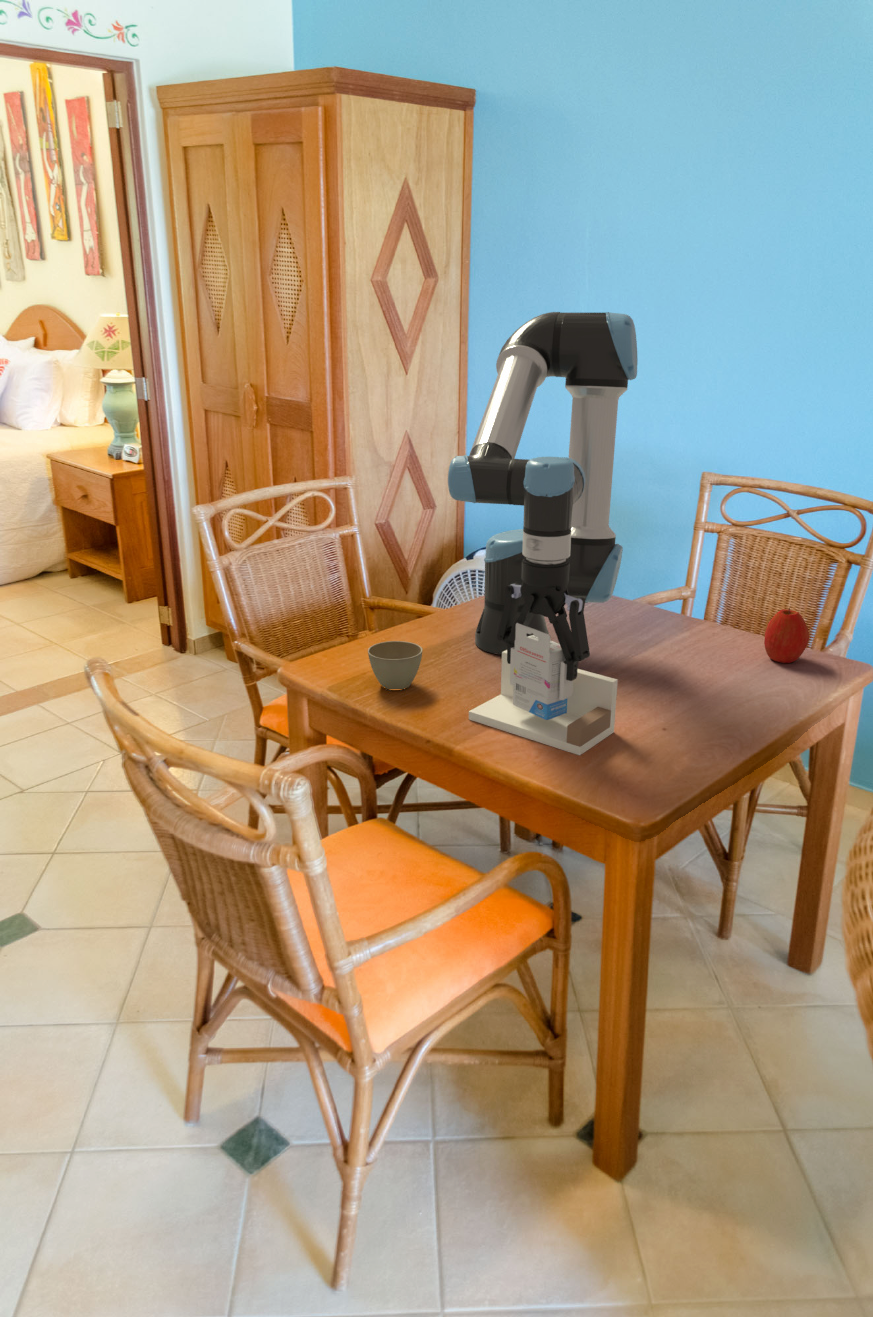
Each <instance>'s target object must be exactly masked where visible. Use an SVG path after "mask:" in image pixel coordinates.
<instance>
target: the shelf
mask: <svg viewBox="0 0 873 1317" xmlns="http://www.w3.org/2000/svg"><path fill="white" fill-rule="evenodd" d="M500 677H501V678H500V679H501V680H500V694H498V695H497V696H495V697H493V698H491V699H489V700H487V701H485V702H484V703H482V704H480V705H478V706H476V707H475V708H471V710H469V711H468V720H470V721H472V722H476V723H478V724H482V725H485V726H489V727H491V728H494V729H497V730H500V731H504V732H507V733H510V734H513V735H516V736H519V737H521V738H523V739H524V738H525V739H528V740H531V741H534V742H537V743H541V744H543V745H547V746H549V747H552V748H556V749H559V750H561V751H565V752H569V753H571V754H573V755H576V756H581V755H583V754H584V753H585V752H587V751H589V750H590V749H592V748H593V747H595V746H596V745H597V744H599V743H600V742H601V741H603V740H604V739H606V738H608V737H609V736H610V735H612V734H613V733H614V732H615V723H616V709H617V708H616V707H617V696H618V695H617V692H618V681H619V679H617V678H614V677H610V676H607V675H603V674H598V673H595V672H592V671H591V672H590V671H587V670H584V669H580V668H578V670H577V678H576V679H574V680H573V686H572V696H570V697H568V698H567V713H565V714H562V715H560V716H557V717H555V718H552V719H549V720H545V719H543V718H541V717H538V716H536V715H534V714H532V713H530V712H528V711H526V710H523V709H521V708H519V707H517V706H515V705H513V685H510V664H508V662H507V650H505V651H503V652H502V655H501V675H500Z"/></svg>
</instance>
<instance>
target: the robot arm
mask: <svg viewBox="0 0 873 1317" xmlns="http://www.w3.org/2000/svg"><path fill="white" fill-rule="evenodd" d="M637 342H638V340H637V334H636V327H635V322H634V319H633V318H632V317H631V316H630V315H629V314H625V313H619V312H617V313H616V312H609V311H606V312H561V311H551V312H546V313H541V314H540V315H537V316H534V317H533V318H531V319H530V320H528V321H526V322H525V323H524V324H522V325H521V326H519V327H518V328H517V329H516V330H514V331H513V333H512V334H511V335H510V336H509V337H508V339H506V341H505V342H504V343H503V345H502V347H501V348H500V352H499V354H498V356H497V360H496V364H495V367H496V368H495V369H496V373H497V375H496V378H495V382H494V384H493V388H492V390H491V393H490V396H489V398H488V401H487V404H486V407H485V410H484V412H483V416H482V417H481V422H480V424H479V426H478V429H477V432H476V436H475V438H474V441H473V443H472V447H471V449H470V452H469V455H467V454H464V455H456V456H455V457H454V458H452V459H451V461H450V463H449V467H448V472H447V473H448V474H447V488H448V492H449V495H450V497H451V498H452V499H453V500H455V501H459V502H464V503H472V504H490V505H491V504H493V505H510V506H511V505H513V506H521V507H522V506H523V526H522V528H518V529H511V530H507V531H503V532H499V533H496V534H494V535H492V536H491V537H489V539H488V540H487V542H486V544H485V553H484V554H485V556H484V559H483V561H484V605H483V610H482V613H481V615H480V618H479V621H478V623H477V627H476V629H475V633H474V637H475V638H474V643H475V645H476V647H477V648H478V649H481V650H482V651H483V652H484V651H485V652H487V653H491V654H495V655H499V656H500V655H501V656H502V652H503V651H505V650H507V662H508V664H510V685H513V683H514V649H515V635H516V623H519V624H522V625H524V626H527V627H530V628H533V629H536V630H538V631H541V632H543V633H546V634H549V635H550V632H549V630H548V627H547V623H546V622H547V621H546V618H548V621H549V623H550V625H551V624H552V626H553V629H554V632H555V635H556V638H557V641H558V643H559V644H560V646H561V649H562V652H563V654H564V657H565V660H563V661H561V670H560V691H559V699H560V700H565V699H566V698H568V697H570V696H572V686H573V680H574V679H576V678H577V670H578V669H579V662H582V661H584V660H586V659H587V658H590V656H591V655H590V654H591V653H590V646H589V640H588V632H587V627H586V620H585V614H584V611H585V606H586V605H585V604H589V603H595V604H596V603H597V604H601V603H602V604H603V603H607V602H608V601H609V600H610V599H611V598H612V596H613V594H614V592H615V588H616V584H617V581H618V576H619V574H620V573H619V572H620V569H621V568H620V567H621V563H622V557H623V550H624V549H623V545H621V544H619V543H616V536H617V534H616V533H615V532H614V530H612V528H611V527H610V525H609V524H610V515H611V514H610V512H611V500H612V499H611V498H612V488H613V487H612V485H613V473H614V460H615V448H616V436H617V435H616V433H617V420H618V410H619V409H618V407H619V400H620V397H621V396H622V395H624V393H625V392H627V391H628V386H629V385H628V383H629V381H632V380H635V379H636V378H637V376H638V344H637ZM549 377H555V378H565V385H564V386H565V387H564V388H565V389H566V390H567V392H568V393H569V394H570V395H571V397H572V400H571V401H572V403H571V414H570V415H571V417H570V428H569V429H570V432H569V443H568V444H569V445H568V447H569V448H568V457H563V456H561V457H559V456H538V457H534V458H531V459H527V458H526V459H523V458H516V454H517V451H518V448H519V445H520V443H521V438H522V436H523V432H524V430H525V426H526V424H527V423H526V422H527V420H528V417H529V414H530V410H531V407H532V404H533V401H534V398H535V396H536V391H537V389H538V387H540V386H541V385H543V383H544V382H545V380H546V378H549ZM565 605H567V607H566V608H565ZM566 610H567V611H568V614H567V611H566ZM545 617H546V618H545ZM567 617H568V618H567ZM568 619H569V622H568ZM531 635H534V634H527V637H528V636H531Z"/></svg>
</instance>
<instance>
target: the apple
mask: <svg viewBox="0 0 873 1317" xmlns="http://www.w3.org/2000/svg"><path fill="white" fill-rule="evenodd" d="M790 608H791V607H789V608H788V609H786V608H785V609H780V610H779V611H777V612H776V613H775V614H774V615H773V617H772V618H771V619H770V620H769V622H768V623H767V627H766V629H765V632H764V640H763V642H764V643H763V644H764V649H765V652H766V655H767V656H768V657H769V659H770V660H772V661H774V662H777V663H782V664H791V663H792V662H795V661H797V660H798V659H799V658H800V657H801V656H802V655H803V653H804V651H805V650H806V649H807V647H808V643H809V641H810V633H809V632H810V631H809V627H808V626H807V623H806V621H805V619H804V617H803V616H802V614H800V613H799V611H796V610H792V609H790Z"/></svg>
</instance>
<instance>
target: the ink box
mask: <svg viewBox="0 0 873 1317" xmlns="http://www.w3.org/2000/svg"><path fill="white" fill-rule="evenodd" d="M527 634H534V635H531V636H528V637H527ZM563 660H565V657H564V654H563V652H562V649H561V646H560V643H559V642H556V641H553V640H552V636H551V635H550V633H549V634H546V633H543V632H541V631H538V630H536V629H533V628H530V627H527V626H524V625H522V624H519V623H516V635H515V649H514V683H513V705H515V706H517V707H519V708H521V709H523V710H526V711H528V712H530V713H532V714H534V715H536V716H538V717H541V718H543V719H545V720H549V719H552V718H555V717H557V716H560V715H562V714H565V713H567V698H566V699H565V700H560V699H559V691H560V670H561V661H563Z"/></svg>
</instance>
